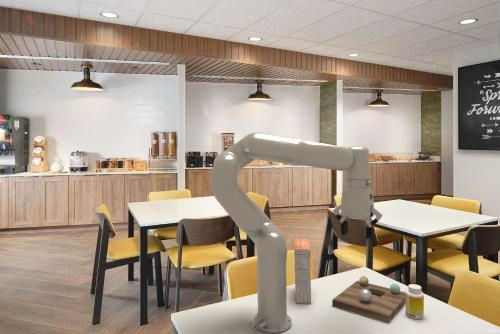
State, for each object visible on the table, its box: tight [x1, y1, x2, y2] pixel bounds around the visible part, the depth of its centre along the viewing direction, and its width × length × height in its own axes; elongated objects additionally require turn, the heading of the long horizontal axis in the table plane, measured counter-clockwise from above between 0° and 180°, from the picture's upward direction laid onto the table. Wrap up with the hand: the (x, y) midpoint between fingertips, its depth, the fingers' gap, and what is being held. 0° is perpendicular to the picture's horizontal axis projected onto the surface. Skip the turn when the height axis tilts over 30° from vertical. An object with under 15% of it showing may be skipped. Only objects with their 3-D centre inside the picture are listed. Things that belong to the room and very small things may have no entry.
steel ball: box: [359, 289, 372, 302], centre depth 126 cm, size 4×4×4 cm
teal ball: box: [389, 283, 401, 293], centre depth 133 cm, size 4×4×4 cm
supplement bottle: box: [405, 283, 425, 320], centre depth 120 cm, size 6×6×10 cm
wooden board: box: [331, 280, 406, 324], centre depth 131 cm, size 22×20×2 cm
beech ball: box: [358, 275, 370, 286], centre depth 141 cm, size 4×4×4 cm
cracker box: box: [293, 238, 312, 305], centre depth 137 cm, size 14×6×21 cm, turn 172°
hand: (356, 235), depth 119 cm, fingers open, 7 cm apart
